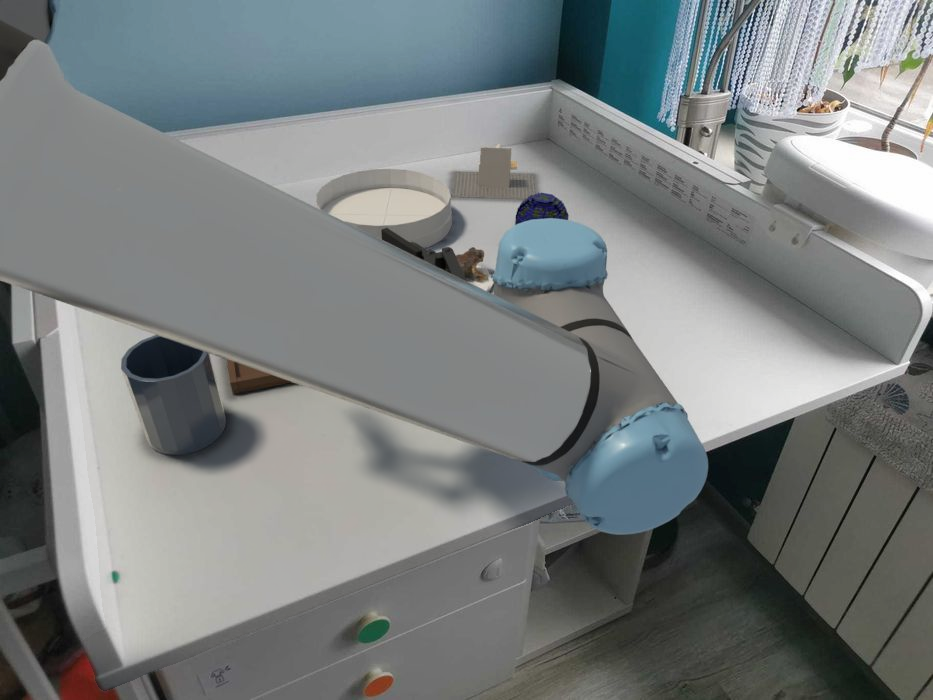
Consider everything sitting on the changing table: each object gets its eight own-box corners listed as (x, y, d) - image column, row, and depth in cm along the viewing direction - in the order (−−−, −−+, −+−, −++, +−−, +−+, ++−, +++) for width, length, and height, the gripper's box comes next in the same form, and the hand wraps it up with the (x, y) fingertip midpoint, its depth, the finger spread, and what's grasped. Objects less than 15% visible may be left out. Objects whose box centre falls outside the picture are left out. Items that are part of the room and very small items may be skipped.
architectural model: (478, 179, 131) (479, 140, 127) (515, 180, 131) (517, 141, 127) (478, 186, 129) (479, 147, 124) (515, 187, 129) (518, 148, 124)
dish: (450, 257, 107) (450, 227, 104) (306, 254, 107) (302, 225, 104) (452, 195, 125) (453, 169, 122) (329, 193, 125) (326, 167, 122)
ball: (571, 236, 114) (576, 192, 109) (558, 257, 108) (563, 212, 103) (524, 227, 116) (527, 184, 111) (509, 247, 110) (512, 203, 106)
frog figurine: (457, 253, 109) (457, 230, 106) (511, 283, 102) (513, 260, 99) (398, 277, 102) (397, 254, 100) (453, 312, 95) (453, 288, 93)
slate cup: (146, 462, 72) (119, 388, 66) (146, 412, 78) (122, 340, 72) (229, 444, 74) (210, 371, 68) (222, 396, 80) (205, 326, 74)
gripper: (339, 444, 58) (227, 327, 70) (551, 335, 71) (425, 253, 83) (331, 373, 53) (213, 262, 66) (559, 271, 66) (424, 195, 79)
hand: (331, 257), depth 75 cm, fingers open, 13 cm apart
